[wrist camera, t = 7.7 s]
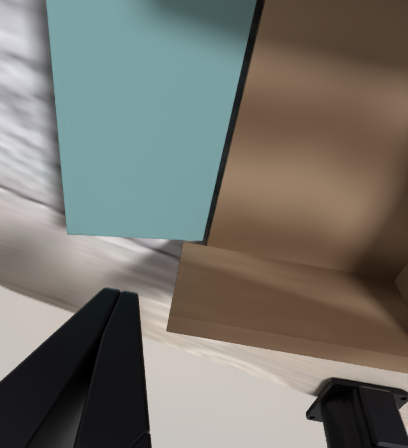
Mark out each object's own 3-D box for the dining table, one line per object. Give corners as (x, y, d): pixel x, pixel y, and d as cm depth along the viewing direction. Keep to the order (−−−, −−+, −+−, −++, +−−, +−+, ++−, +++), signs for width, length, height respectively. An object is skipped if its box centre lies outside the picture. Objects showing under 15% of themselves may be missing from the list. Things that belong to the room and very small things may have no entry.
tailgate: (202, 240, 19) (67, 234, 18) (200, 229, 20) (70, 221, 18) (270, -63, 11) (35, -119, 10) (263, -63, 12) (43, -115, 10)
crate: (397, 285, 21) (443, 379, 16) (183, 245, 21) (166, 331, 16) (643, -38, 12) (928, -35, 7) (251, -129, 11) (260, -196, 6)
